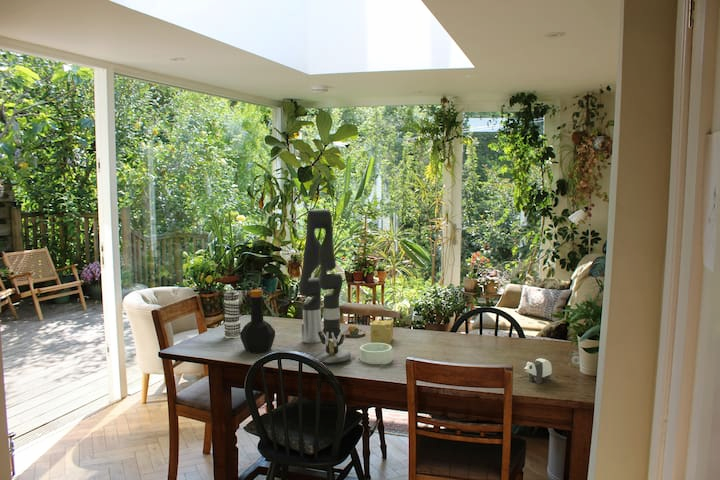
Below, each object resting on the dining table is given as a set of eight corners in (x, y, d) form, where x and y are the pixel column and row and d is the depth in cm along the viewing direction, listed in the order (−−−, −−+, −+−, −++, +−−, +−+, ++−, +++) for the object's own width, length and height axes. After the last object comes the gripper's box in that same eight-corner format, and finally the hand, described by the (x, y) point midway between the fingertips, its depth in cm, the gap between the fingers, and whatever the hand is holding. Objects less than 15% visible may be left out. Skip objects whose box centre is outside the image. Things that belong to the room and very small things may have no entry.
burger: (367, 337, 303) (367, 323, 302) (346, 339, 300) (346, 325, 299) (361, 331, 314) (361, 318, 314) (340, 333, 311) (340, 320, 310)
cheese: (390, 344, 289) (390, 325, 287) (369, 343, 291) (369, 324, 290) (393, 338, 299) (393, 320, 298) (373, 337, 301) (373, 319, 300)
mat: (309, 365, 258) (309, 363, 258) (324, 354, 273) (324, 353, 273) (341, 369, 252) (341, 367, 252) (355, 358, 267) (355, 357, 267)
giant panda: (541, 375, 240) (542, 353, 238) (553, 379, 235) (553, 357, 234) (519, 383, 231) (519, 360, 230) (530, 387, 227) (530, 364, 226)
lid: (307, 360, 258) (307, 345, 257) (323, 349, 274) (323, 335, 273) (341, 364, 252) (341, 349, 251) (356, 353, 267) (356, 338, 266)
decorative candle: (222, 335, 310) (220, 290, 307) (239, 333, 314) (237, 288, 311) (226, 339, 302) (224, 293, 299) (243, 337, 305) (241, 291, 303)
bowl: (355, 363, 260) (355, 350, 259) (367, 353, 273) (366, 341, 273) (385, 366, 255) (385, 353, 254) (396, 356, 268) (395, 344, 267)
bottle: (258, 343, 294) (256, 286, 291) (281, 348, 285) (279, 289, 282) (234, 351, 281) (232, 291, 278) (258, 356, 272) (256, 294, 269)
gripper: (314, 317, 259) (314, 354, 262) (342, 320, 254) (342, 357, 256) (321, 313, 266) (322, 349, 268) (348, 316, 261) (349, 352, 263)
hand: (332, 353), depth 262 cm, fingers closed on lid, 3 cm apart
